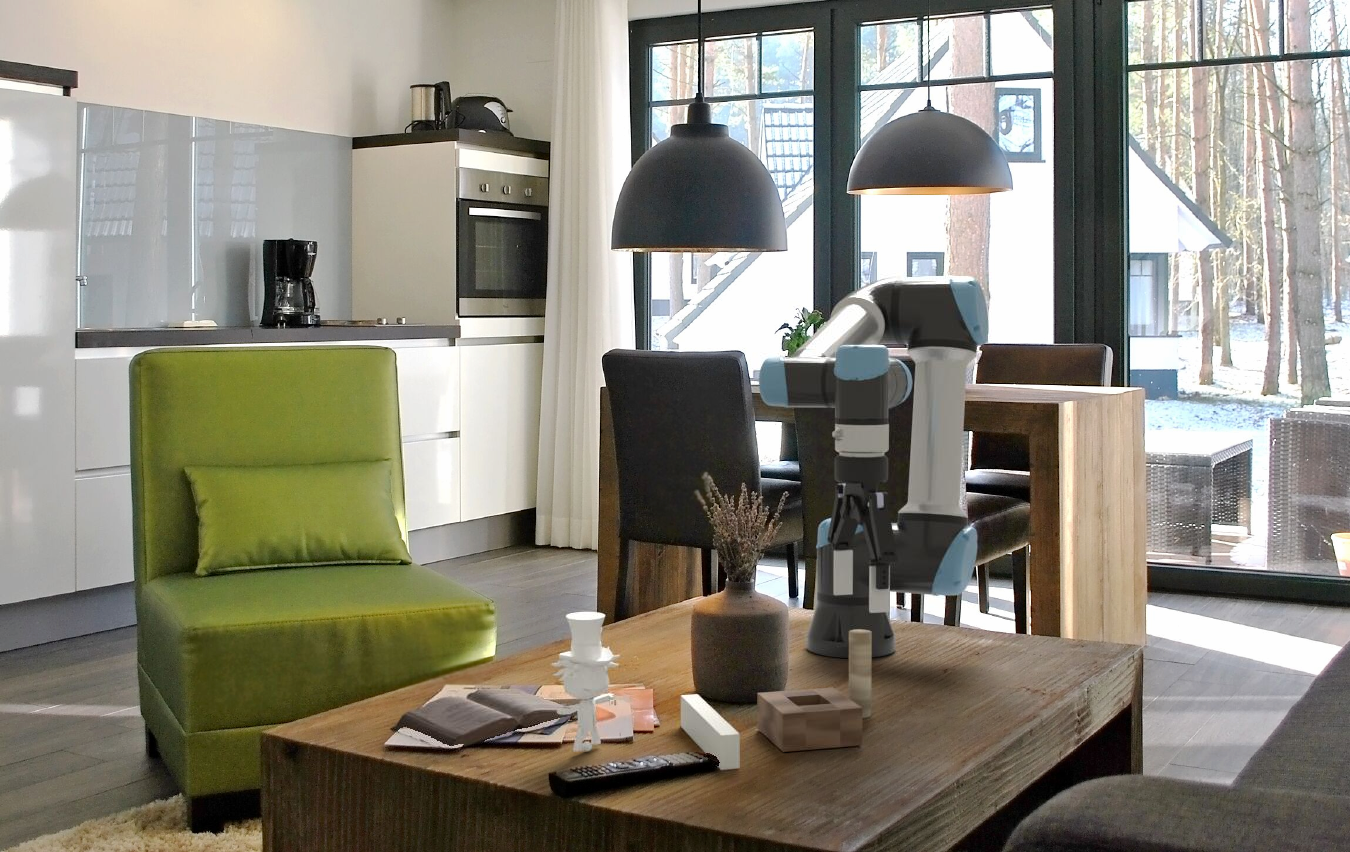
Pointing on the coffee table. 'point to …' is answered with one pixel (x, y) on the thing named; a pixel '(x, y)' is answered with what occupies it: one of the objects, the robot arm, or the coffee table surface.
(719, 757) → the wall
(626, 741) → the coffee table surface
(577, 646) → the figurine
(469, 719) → the book
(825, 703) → the block
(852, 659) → the dowel
